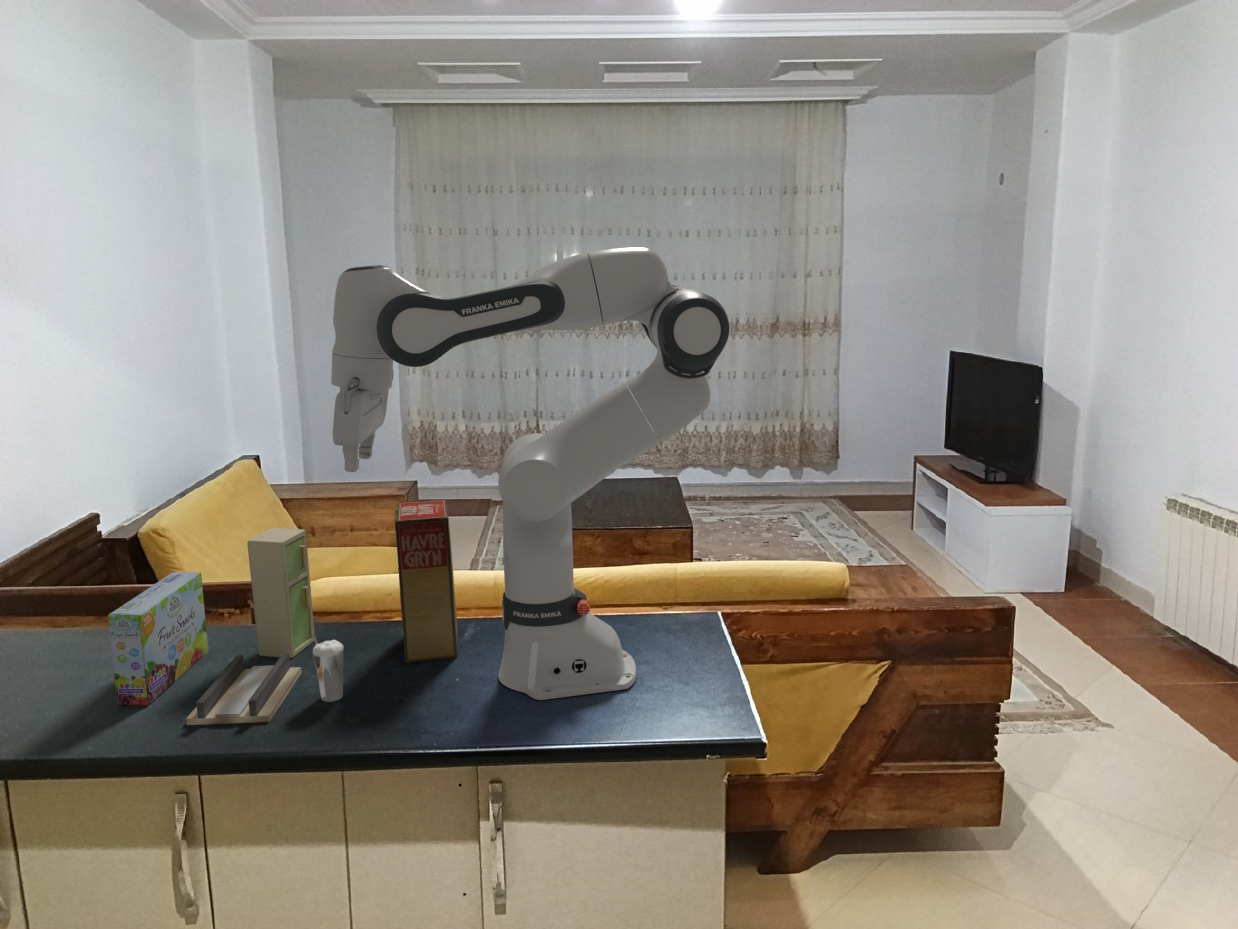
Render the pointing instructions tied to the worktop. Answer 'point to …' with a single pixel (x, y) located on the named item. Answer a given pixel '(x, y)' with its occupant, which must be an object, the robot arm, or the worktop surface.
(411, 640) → the food packaging
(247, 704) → the rail plate
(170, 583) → the snack box
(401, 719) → the worktop surface
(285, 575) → the toy refrigerator
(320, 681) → the milkshake
